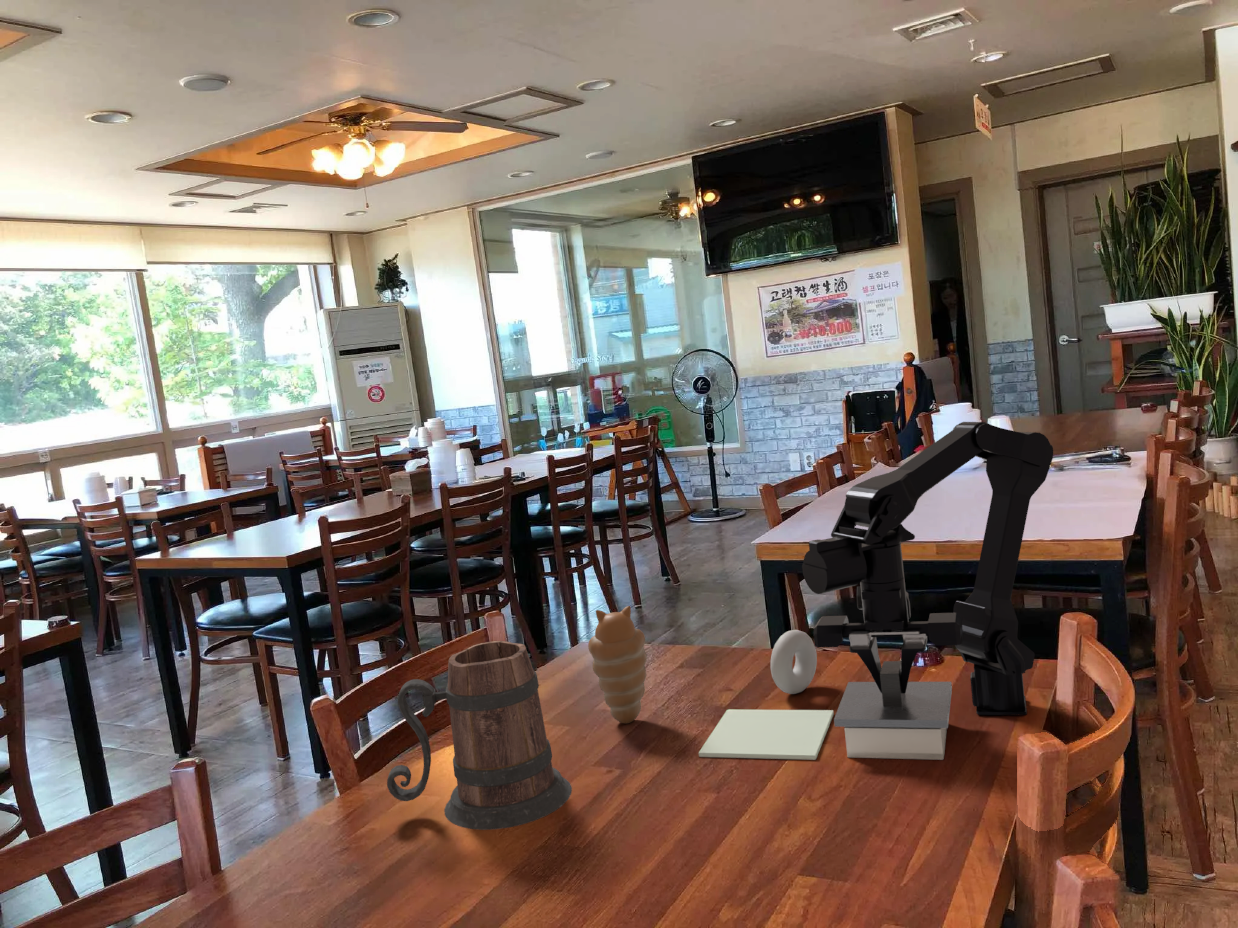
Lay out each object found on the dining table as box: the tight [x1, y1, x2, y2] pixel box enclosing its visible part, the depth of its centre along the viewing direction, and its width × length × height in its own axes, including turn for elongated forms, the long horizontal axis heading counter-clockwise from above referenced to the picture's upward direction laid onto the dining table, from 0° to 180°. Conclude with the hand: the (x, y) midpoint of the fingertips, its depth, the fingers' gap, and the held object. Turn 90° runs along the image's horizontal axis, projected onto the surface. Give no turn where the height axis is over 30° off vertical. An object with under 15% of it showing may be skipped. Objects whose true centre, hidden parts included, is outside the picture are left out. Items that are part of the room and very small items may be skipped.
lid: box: [833, 660, 953, 729], centre depth 132 cm, size 14×14×6 cm
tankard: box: [386, 640, 573, 831], centre depth 129 cm, size 24×17×20 cm
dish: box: [843, 727, 948, 761], centre depth 133 cm, size 12×12×4 cm
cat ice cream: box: [587, 605, 648, 724], centre depth 151 cm, size 9×8×18 cm
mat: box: [698, 708, 835, 761], centre depth 140 cm, size 16×16×1 cm
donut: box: [770, 629, 818, 695], centre depth 155 cm, size 10×4×10 cm, turn 135°
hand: (893, 692), depth 132 cm, fingers closed on lid, 2 cm apart
